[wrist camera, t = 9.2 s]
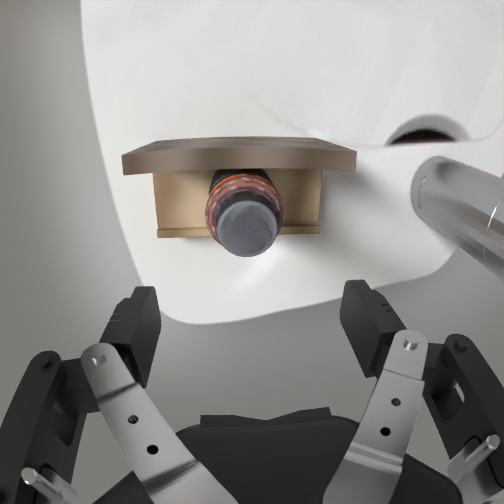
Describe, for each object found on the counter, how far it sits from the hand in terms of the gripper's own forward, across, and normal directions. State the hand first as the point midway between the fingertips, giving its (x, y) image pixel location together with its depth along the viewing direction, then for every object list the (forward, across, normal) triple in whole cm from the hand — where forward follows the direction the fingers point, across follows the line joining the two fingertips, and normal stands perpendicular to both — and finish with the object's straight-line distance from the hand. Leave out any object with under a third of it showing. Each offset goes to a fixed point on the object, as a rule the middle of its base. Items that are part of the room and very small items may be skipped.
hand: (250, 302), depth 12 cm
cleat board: (+22, 0, -1) cm, 22 cm away
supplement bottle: (+19, 0, 0) cm, 19 cm away
